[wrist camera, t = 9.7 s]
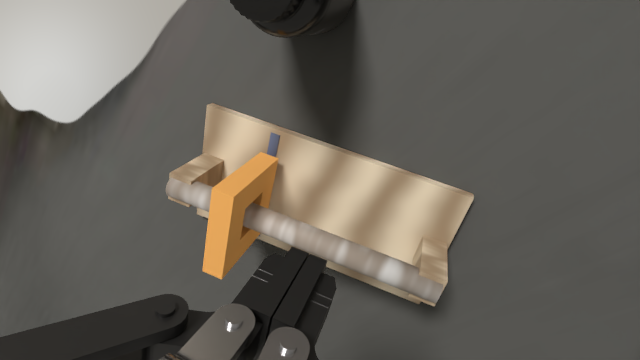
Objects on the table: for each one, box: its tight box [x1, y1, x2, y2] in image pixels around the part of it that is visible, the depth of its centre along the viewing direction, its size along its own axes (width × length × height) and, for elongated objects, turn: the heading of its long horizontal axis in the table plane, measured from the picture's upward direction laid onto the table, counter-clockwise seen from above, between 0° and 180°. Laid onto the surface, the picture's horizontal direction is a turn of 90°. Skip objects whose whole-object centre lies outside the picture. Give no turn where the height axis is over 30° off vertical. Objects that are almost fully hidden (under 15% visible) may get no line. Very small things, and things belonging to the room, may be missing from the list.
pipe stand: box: [166, 103, 474, 306], centre depth 36 cm, size 28×14×8 cm, turn 75°
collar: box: [203, 152, 279, 279], centre depth 35 cm, size 2×9×9 cm, turn 165°
